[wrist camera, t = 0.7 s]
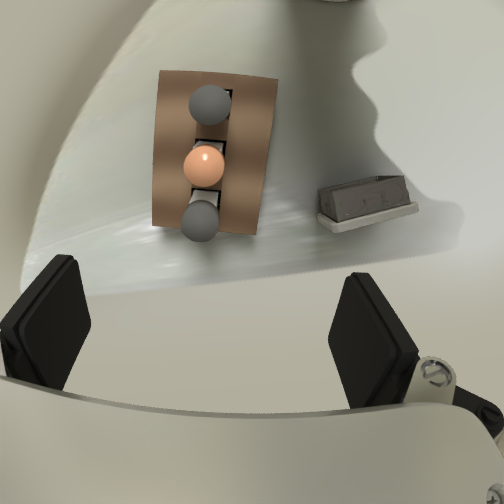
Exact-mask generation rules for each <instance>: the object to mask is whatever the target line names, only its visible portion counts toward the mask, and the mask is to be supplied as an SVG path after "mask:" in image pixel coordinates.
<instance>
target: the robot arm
mask: <svg viewBox="0 0 504 504" xmlns="http://www.w3.org/2000/svg"><path fill="white" fill-rule="evenodd" d="M323 1H331V2H344V1H349V0H323ZM90 328H91V319H90V315H89V312H88V307H87V303H86V299H85V294H84V290H83V285H82V280H81V275H80V270H79V265H78V262H77V260H74V258H73V256H71V255H61V254H57V255H56V256H55V257H54V258H53V259H52V260H51V261H50V263H49V264H48V265H47V266H46V267H45V268H44V269H43V270H42V272H41V273H40V274H39V275H38V276H37V277H36V278H35V280H34V281H33V282H32V283H31V284H30V285H29V287H28V288H27V289H26V290H25V291H24V293H23V294H22V295H21V296H20V298H19V299H18V300H17V301H16V303H15V304H14V305H13V306H12V308H11V309H10V310H9V312H8V313H7V314H6V316H5V317H4V318H3V319H2V321H1V323H0V329H1V331H0V504H504V417H503V414H502V412H501V411H500V409H499V408H498V407H497V406H496V405H494V404H493V403H491V402H489V401H487V400H485V399H483V398H481V397H479V396H477V395H475V394H472V393H471V392H468V391H466V390H464V389H462V388H460V387H458V386H456V374H455V372H454V370H453V369H452V367H451V366H450V365H449V364H448V363H447V362H445V361H444V360H442V359H440V358H436V357H430V356H428V357H423V358H422V359H420V357H419V356H418V352H419V350H418V348H417V346H416V345H415V343H414V342H413V340H412V338H411V337H410V335H409V333H408V332H407V330H406V329H405V327H404V326H403V324H402V322H401V321H400V319H399V318H398V316H397V315H396V313H395V311H394V310H393V308H392V307H391V305H390V304H389V302H388V301H387V299H386V298H385V296H384V295H383V293H382V292H381V290H380V289H379V287H378V286H377V284H376V283H375V281H374V280H373V278H372V277H371V276H370V274H369V273H358V272H357V273H356V272H353V273H352V274H351V275H350V276H348V277H346V279H345V282H344V286H343V289H342V293H341V296H340V300H339V303H338V306H337V309H336V313H335V316H334V319H333V322H332V326H331V329H330V332H329V335H328V343H329V347H330V349H331V352H332V355H333V358H334V361H335V364H336V367H337V370H338V373H339V376H340V379H341V382H342V384H343V388H344V391H345V394H346V397H347V400H348V403H349V406H350V409H345V410H332V411H321V412H303V413H279V414H278V413H275V414H242V413H238V414H237V413H213V412H195V411H184V410H172V409H163V408H155V407H146V406H139V405H132V404H125V403H119V402H113V401H107V400H102V399H97V398H92V397H87V396H82V395H77V394H73V393H68V392H64V391H62V390H63V388H64V385H65V383H66V381H67V378H68V376H69V374H70V371H71V369H72V367H73V364H74V362H75V360H76V358H77V356H78V354H79V351H80V349H81V347H82V345H83V343H84V341H85V339H86V337H87V335H88V333H89V331H90Z"/></svg>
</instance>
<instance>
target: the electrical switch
mask: <svg viewBox="0 0 504 504" xmlns="http://www.w3.org/2000/svg"><path fill="white" fill-rule="evenodd" d="M377 177H378V179H377ZM331 190H332V191H331ZM318 193H319V196H320V204H321V208H322V213H318V214H316V215H317V219H318V222H320V223H321V224H322V225H324V226H325V227H326V228H328V229H329V230H330V231H332V232H333V233H340V232H344V231H348V230H352V229H355V228H359V227H363V226H367V225H371V224H374V223H378V222H382V221H386V220H390V219H393V218H397V217H401V216H405V215H408V214H412V213H416V212H418V211H419V210H418V203H416V202H410V199H409V193H408V190H407V188H406V184H405V179H404V176H375V177H370V178H366V179H362V180H358V181H354V182H349V183H345V184H341V185H337V186H333V187H329V188H325V189H321V190H318Z"/></svg>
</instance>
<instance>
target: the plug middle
mask: <svg viewBox="0 0 504 504" xmlns="http://www.w3.org/2000/svg"><path fill="white" fill-rule="evenodd" d="M222 151H223V143H219V142H207V141H198V142H197V143H196V144H195V146H194V147H193V150H192V151H191V152H190V153H189V154H188V156H187V157H186V159H185V161H184V173H185V176H186V178H187V179H188V180H189V181H190V182H191V183H192V184H194V185H196V186H200V187H208V186H211V185H213V184H215V183H217V182H218V181H219V180H220V178H221V177H222V175H223V171H224V165H225V159H224V155H223V153H222Z"/></svg>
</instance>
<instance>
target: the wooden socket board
mask: <svg viewBox="0 0 504 504" xmlns="http://www.w3.org/2000/svg"><path fill="white" fill-rule="evenodd" d="M205 85H215V86H219V87H221V88H223V89H227V90H233V93H232V101H231V103H232V104H231V110H230V117H226V118H225V120H223V121H222V122H220V123H218V124H215V125H203V124H200V123H198V122H197V121H195V120H194V119H193V117H192V116H191V114H190V112H189V100H190V97H191V95H192V94H193V93H194V92H195V91H196V90H197V89H198V88H200V87H202V86H205ZM277 87H278V79H271V78H264V77H256V76H248V75H239V74H228V73H216V72H200V71H168V70H160V73H159V83H158V93H157V104H156V117H155V132H154V151H153V181H152V226H161V227H173V228H181V220H182V217H183V215H184V212H185V210H186V208H187V206H188V205H189V202H190V200H191V197H192V195H193V192H194V190H195V188H201V189H213V190H222V191H221V201H220V205H219V204H217V209H218V211H219V225H218V231H219V232H230V233H241V234H252V235H256V231H257V224H258V217H259V210H260V203H261V197H262V190H263V183H264V176H265V169H266V162H267V155H268V149H269V142H270V135H271V128H272V121H273V114H274V107H275V100H276V94H277ZM199 138H201V139H214V140H225V141H227V143H226V152H225V165H224V171H223V175H222V177H221V178H220V180H219V181H218V182H217V183H215V184H213V185H211V186H208V187H200V186H196V185H194V184H192V183H191V182H190V181H189V180H188V179H187V178H186V176H185V173H184V161H185V159H186V157H187V156H188V154H189V153H190V152H191V151H192V150H193V147H194V146H195V144H196V143H197V142H198V141H199Z"/></svg>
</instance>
